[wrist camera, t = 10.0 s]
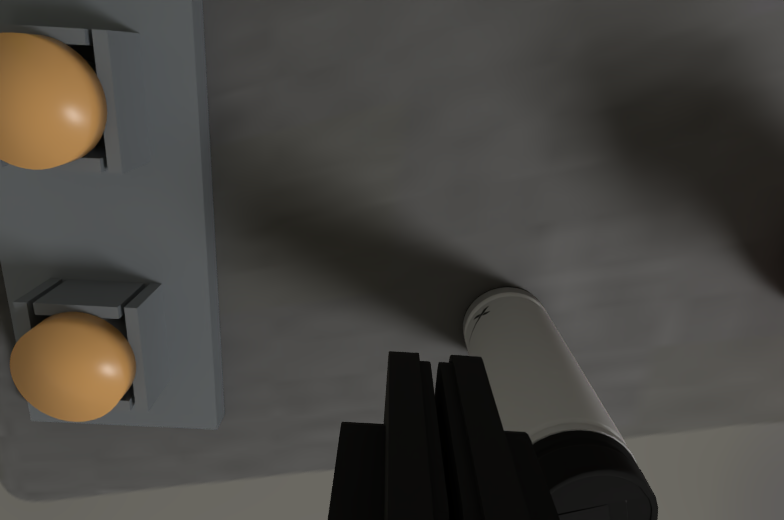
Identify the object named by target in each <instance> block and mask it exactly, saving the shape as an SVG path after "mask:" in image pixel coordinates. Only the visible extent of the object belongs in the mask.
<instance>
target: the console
mask: <svg viewBox="0 0 784 520" xmlns="http://www.w3.org/2000/svg"><path fill="white" fill-rule="evenodd" d="M10 32H12V33H27V34H38V35H44V36H48V37H51V38H54V39H56V40H59V41H61V42H63V43H65V44H66V45H68V46H70V47H71V48H72V49H74V50H75V51H76V52H78V53H79V54H80V55H81V56H82V57H83V58H84V59H85V60H88V61H90V62H93V63H94V64H96V72H97V77H98V79H99V81H100V83H101V85H102V88H103V91H104V94H105V98H106V104H107V121H106V125H105V129H104V132H103V135H102V137H101V139H100V140H99V142H98V144H97V145H96V146H95V147H94V148H93V149H92V150H91V151H90V152H89V153H88V154H86V155H85V156H83V157H82V158H80V159H77V160H75V161H72V162H69V163H66V164H63V165H60V166H56V167H53V168H49V169H42V170H33V169H25V168H21V167H17V166H14V165H11V164H9V163H6V162H4V161H2V160H0V262H1V268H2V273H3V278H4V283H5V288H6V293H7V299H8V304H9V309H10V314H11V319H12V325H13V330H14V335H15V340H16V343H17V341H18V340H19V339H20V338H21V337H22V336H23V335H24V334H26V333H27V332H28V331H30V330H31V329H32V328H34V327H35V326H36V325H38V324H39V323H40V322H42V321H43V320H44V319H46V318H48V317H50V316H52V315H54V314H58V313H63V312H82V313H87V314H91V315H94V316H97V317H99V318H110V319H119V318H120V317H121V316H123V315H124V314H125V320H126V329H127V337H128V342H129V344H130V346H131V348H132V350H133V353H134V356H135V361H136V374H135V378H134V381H133V383H132V385H131V386H130V388H129V389H128V391H127V392H126V393H125V394H124V396H123V397H122V398H121V399H120V401H119V402H118V403H117V405H116V406H115V407H114V408H113V409H112V410H111V411H110V412H108V413H107V414H105V415H104V416H102V417H100V418H97V419H94V420H90V421H84V422H72V421H65V420H60V419H57V418H54V417H51V416H49V415H47V414H45V413H43V412H41V411H39V410H38V409H36V408H35V407H34V406H32V405H31V404H30V403H29V402H28V401H27V402H28V407H29V413H30V418H31V421H43V422H64V423H86V424H107V425H128V426H150V427H171V428H193V429H214V430H217V429H218V427H219V425H220V423H221V421H222V419H223V416H224V414H225V410H224V392H223V373H222V355H221V336H220V317H219V299H218V280H217V262H216V243H215V225H214V206H213V188H212V169H211V150H210V132H209V113H208V95H207V76H206V58H205V39H204V21H203V2H202V0H0V33H10Z"/></svg>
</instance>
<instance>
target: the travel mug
mask: <svg viewBox="0 0 784 520" xmlns="http://www.w3.org/2000/svg"><path fill="white" fill-rule="evenodd" d="M463 335H464V339H465V343H466V347H467V351H468V355H469V356H478V357H482V359H483V362H484V366H485V369H486V372H487V376H488V379H489V383H490V386H491V389H492V393H493V396H494V399H495V403H496V406H497V409H498V413H499V416H500V419H501V423H502V426H503V429H504V431H519V432H526V433H527V434H528V435H529V437H530V439H531V441H532V444H533V447H534V449H535V452H536V455H537V458H538V460H539V463H540V466H541V469H542V472H543V474H544V477H545V480H546V483H547V485H548V488H549V491H550V494H551V496H552V499H553V502H554V505H555V507H556V510H557V513H558V516H559V518H560V520H657V516H658V506H657V501H656V497H655V495H654V493H653V491H652V489H651V488H650V486H649V484H648V482H647V481H646V479H645V477H644V475H643V473H642V472H641V470H640V469H639V467H638V466H637V462H636V460H635V458H634V456H633V454H632V452H631V451H630V449H629V448H628V447H627V445H626V443H625V441H624V439H623V438H622V436H621V434H620V433H619V431H618V429H617V428H616V426H615V424H614V423H613V421H612V419H611V418H610V416H609V414H608V413H607V411H606V410H605V408H604V406H603V405H602V403H601V401H600V400H599V398H598V396H597V395H596V393H595V391H594V390H593V388H592V386H591V385H590V383H589V381H588V380H587V378H586V376H585V375H584V373H583V372H582V370H581V368H580V367H579V365H578V363H577V362H576V360H575V358H574V357H573V355H572V353H571V352H570V350H569V348H568V347H567V345H566V343H565V342H564V340H563V338H562V337H561V335H560V333H559V332H558V330H557V329H556V327H555V325H554V324H553V322H552V320H551V319H550V317H549V315H548V314H547V312H546V310H545V309H544V307H543V305H542V304H541V303H540V301H539V300H538V299H537V298H536V297H535V296H533V295H532V294H531V293H529V292H527V291H525V290H522V289H518V288H512V287H503V288H497V289H494V290H490V291H488V292H486V293H484V294H482V295H481V296H480V297H478V298H477V299H476V300H475V301H474V302H473V303H472V304H471V305H470V307H469V308H468V310H467V312H466V314H465V317H464V321H463Z"/></svg>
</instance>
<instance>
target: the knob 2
mask: <svg viewBox="0 0 784 520" xmlns="http://www.w3.org/2000/svg"><path fill="white" fill-rule="evenodd" d="M10 370H11V375H12V379H13V381H14V383H15V385H16V387H17V389H18V391H19V392H20V393H21V395H22V396H23V397H24V398H25V399H26V400H27V401H28V402H29V403H30V404H31V405H32V406H34V407H35V408H36V409H38V410H39V411H41V412H43V413H45V414H47V415H49V416H51V417H54V418H57V419H60V420H65V421H72V422H84V421H90V420H94V419H97V418H100V417H102V416H104V415H105V414H107V413H108V412H110V411H111V410H112V409H113V408H114V407H115V406H116V405H117V403H118V402H119V401H120V399H121V398H122V397H123V396H124V394H125V393H126V392H127V391H128V389H129V388H130V386H131V385H132V383H133V381H134V378H135V374H136V361H135V356H134V353H133V350H132V348H131V346H130V344H129V342H128V337H127V329H126V320H125V314H124V315H123V316H121V317H120V318H119V319H110V318H99V317H97V316H94V315H91V314H87V313H82V312H63V313H58V314H54V315H52V316H50V317H48V318H46V319H44V320H43V321H42V322H40V323H39V324H38V325H36V326H35V327H34V328H32V329H31V330H30V331H28V332H27V333H26V334H24V335H23V336H22V337H21V338H20V339H19V340H18V341H17V343H16V344H15V346H14V348H13V350H12V353H11V358H10Z"/></svg>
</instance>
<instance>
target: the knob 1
mask: <svg viewBox="0 0 784 520" xmlns="http://www.w3.org/2000/svg"><path fill="white" fill-rule="evenodd" d="M106 121H107V104H106V98H105V94H104V91H103V88H102V85H101V83H100V81H99V79H98V77H97V72H96V64H94V63H93V62H90V61H88V60H85V59H84V58H83V57H82V56H81V55H80V54H79V53H78V52H76V51H75V50H74V49H72V48H71V47H70V46H68V45H66V44H65V43H63V42H61V41H59V40H56V39H54V38H51V37H48V36H44V35H38V34H27V33H12V32H10V33H0V160H2V161H4V162H6V163H9V164H11V165H14V166H17V167H21V168H25V169H33V170H42V169H49V168H53V167H56V166H60V165H63V164H66V163H69V162H72V161H75V160H77V159H80V158H82V157H83V156H85V155H86V154H88V153H89V152H90V151H91V150H92V149H93V148H94V147H95V146H96V145H97V144H98V142H99V140H100V139H101V137H102V135H103V132H104V129H105V125H106Z"/></svg>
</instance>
